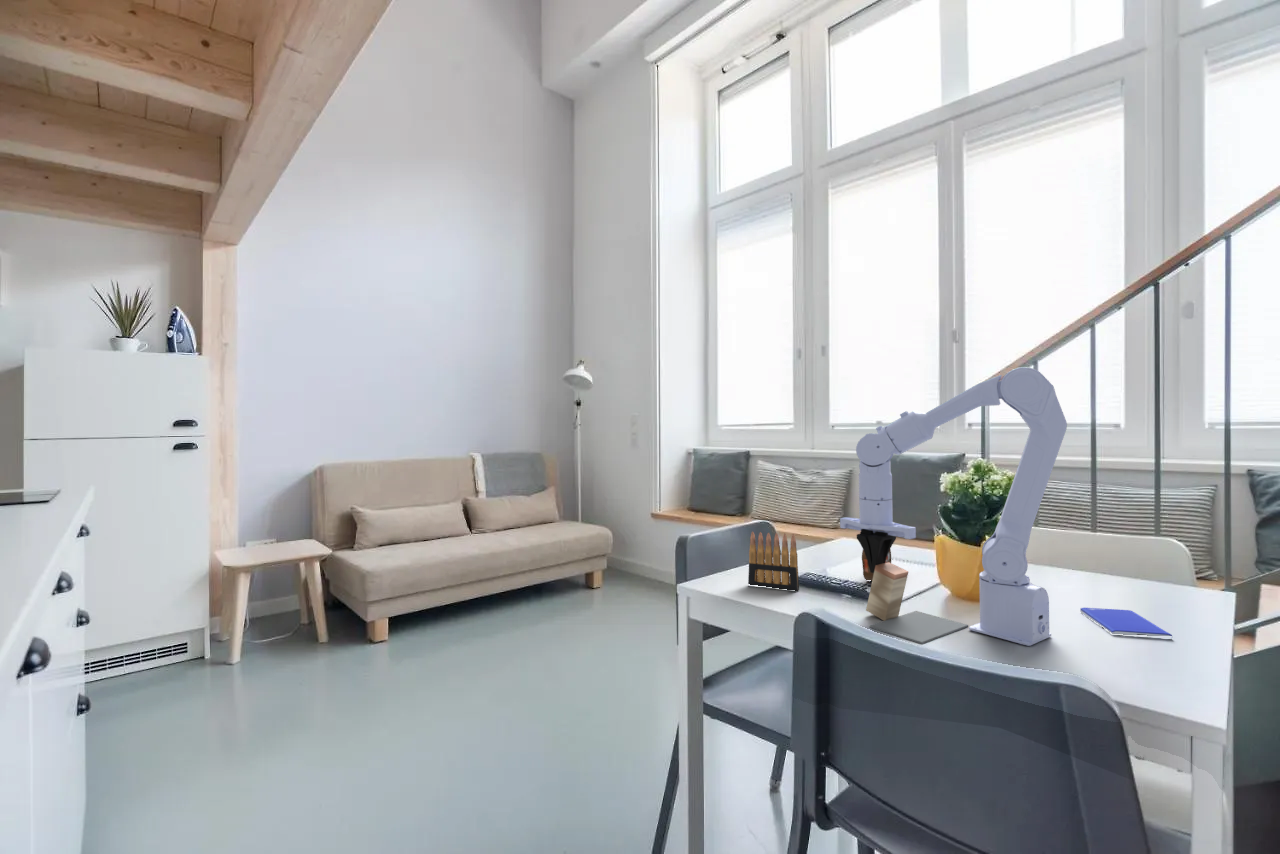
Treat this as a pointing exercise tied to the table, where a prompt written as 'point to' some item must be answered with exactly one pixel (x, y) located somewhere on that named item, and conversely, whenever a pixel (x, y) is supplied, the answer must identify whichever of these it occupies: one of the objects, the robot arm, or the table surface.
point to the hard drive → (1123, 622)
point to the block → (887, 591)
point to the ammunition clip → (773, 563)
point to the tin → (866, 569)
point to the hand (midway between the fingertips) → (876, 572)
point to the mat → (918, 626)
